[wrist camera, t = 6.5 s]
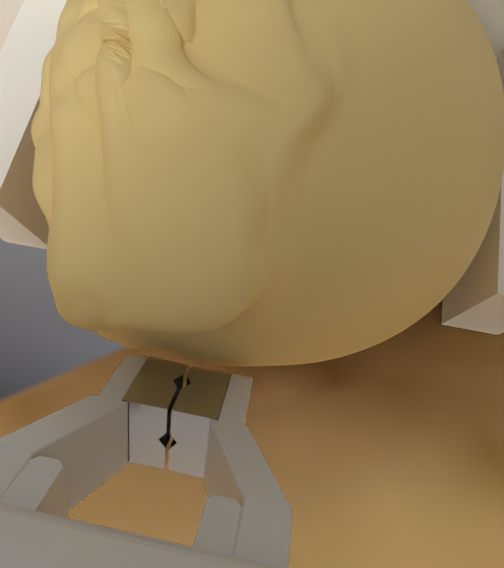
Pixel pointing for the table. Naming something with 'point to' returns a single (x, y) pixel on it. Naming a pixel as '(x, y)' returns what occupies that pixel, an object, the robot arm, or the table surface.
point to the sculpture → (264, 171)
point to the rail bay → (20, 155)
